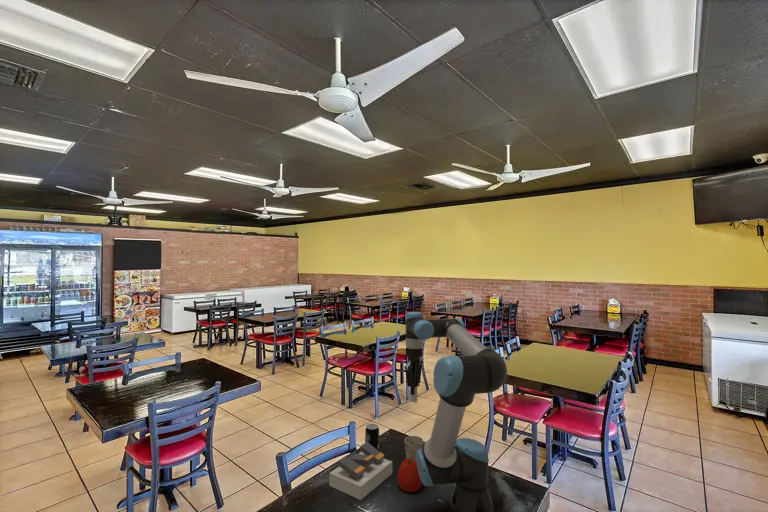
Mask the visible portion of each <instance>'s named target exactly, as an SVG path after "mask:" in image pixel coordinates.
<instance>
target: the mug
mask: <svg viewBox="0 0 768 512" xmlns="http://www.w3.org/2000/svg"><path fill="white" fill-rule="evenodd" d="M403 441H404V447H405V460H406V459H413V460H415V461H416V451H417V450H419V449H423V446H424V445H425V443H426V442H427V441H424V440H423V438H422V437H420V436H417V435H409V436H406V437H405V438H404V440H403Z"/></svg>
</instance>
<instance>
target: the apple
mask: <svg viewBox="0 0 768 512" xmlns="http://www.w3.org/2000/svg"><path fill="white" fill-rule="evenodd" d="M397 484H398V486H399V488H400V489H401V490H402V491H405V492H410V493H411V492H412V493H415V492H417V491H418V490H420V489H421V488H422V485H423V483H422V482H421V480H420V477H419V473H418V469H417V463H416V461H415V460H413V459H406V458H405V459H404V460H402V462H401V464H400V465H399V468H398V471H397Z"/></svg>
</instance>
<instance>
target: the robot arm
mask: <svg viewBox="0 0 768 512" xmlns="http://www.w3.org/2000/svg"><path fill="white" fill-rule="evenodd" d="M404 321H405V338H404V339H405V356H406V357H407V365H404V371H405V377H406V386H407V387H410V388H409V392H410V393H409V395H410V396H409V399H410V401H409V402H412V403H417V402H418V387H420V386H421V385H420V384H421V376H422V370H423V369H422V368H423V364H424V361H423V360H421V358H423V348H422V347H423V346H424V345H423V340H425V341H427V340H430V339H431V338H434V339H435V338H447V339H448V340H449V341H450V342H451V344H452V345H454V346H455V347H456V348H457V349H458V350H459V351H460V352H461V354H462V355H447V356H442V357H440V358H439V359H438V360H437V361H436V363H435V365H434V369H433V378H432V379H433V380H432V381H433V386H434V389H435V392H436V393H437V394H438V396H439V402H438V406H437V410H436V414H435V418H434V422H433V427H432V431H431V435H430V438H429V439H428V440H426V441H425V442H426V443H425V444H424V445H423V448H422V449H419V450H417V451H416V463H417V469H418V473H419V477H420V480H421V482H422V485H423V486H424V487H436V486H442V485H451V484H455V485H454V488H453V491H452V494H451V497H450V507H451V509H452V511H453V512H494V502H493V499H492V496H491V492H490V490H489V461H490V460H489V451H488V448H487V446H486V445H484V444H483V443H482V442H480V441H478V440H475V439H472V438H469V437H461V438H459V437H458V436H459V434H460V431H461V426H462V423H463V419H464V416H465V412H466V408H467V407H469V406H470V405H472V403H473V402H474V399H475V395H478V394H479V395H481V394H490V393H493V392H496V391H498V390H499V389H500V388H501V387H502V386H503V385H504V384H505V381H506V379H507V375H508V368H507V364H506V362H505V360H504V358H503V357H502V356H501V354H499V352H497V351H496V350H495V349H493V348H489V347H487V346H486V345H484V344H483V343H482V342H481V341H480V340H478V339H477V337H475V336H473V335H472V333H470V332H469V331H468V330H467V329H466V324H465V323H464V321H463V319H461V318H440V319H439V318H438V319H435V318H433V319H432V318H431V319H424V317H423V313H422V312H421V311H408V312H406V314H405V320H404Z"/></svg>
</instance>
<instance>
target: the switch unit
mask: <svg viewBox="0 0 768 512" xmlns="http://www.w3.org/2000/svg"><path fill="white" fill-rule="evenodd" d="M358 454H362V455H365V454H364V453H363V452H361V451H360V452H359V453H358ZM360 466H363V467H364V468H365V471H364V474H363V475H362V476H360V477H359V478H358V479H356V478H355V477H353V476H352V475H350V474H349V473H348V472H346V471H345V470H344V469H342V468H341V467H339V466H337V467H336V468H334V469H333V470H332V471H330V472H329V474H328V475H329V478H328V479H329V481H328V483H329V487H331V488H334V489H335V490H338V491H340V492H343V493H344V494H347V495H348V496H351V497H353V498H355V499H357V500H360V501H362V500H363V499H365V497H366V496H367V495H369V494H370V493H372V492H373V491H374V490H375V489H376V488H377V487H378V486H380V484H382V483H383V482H384V481H386V480H387V479H388V478H389V477H390V476H391V475H393V461H392V460H389V459H387V458H384V459H383V460H382V461H381V462H380V463H378V464H376V463H375V462H374V463H372V464H371V465H370V466H364V465H360Z"/></svg>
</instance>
